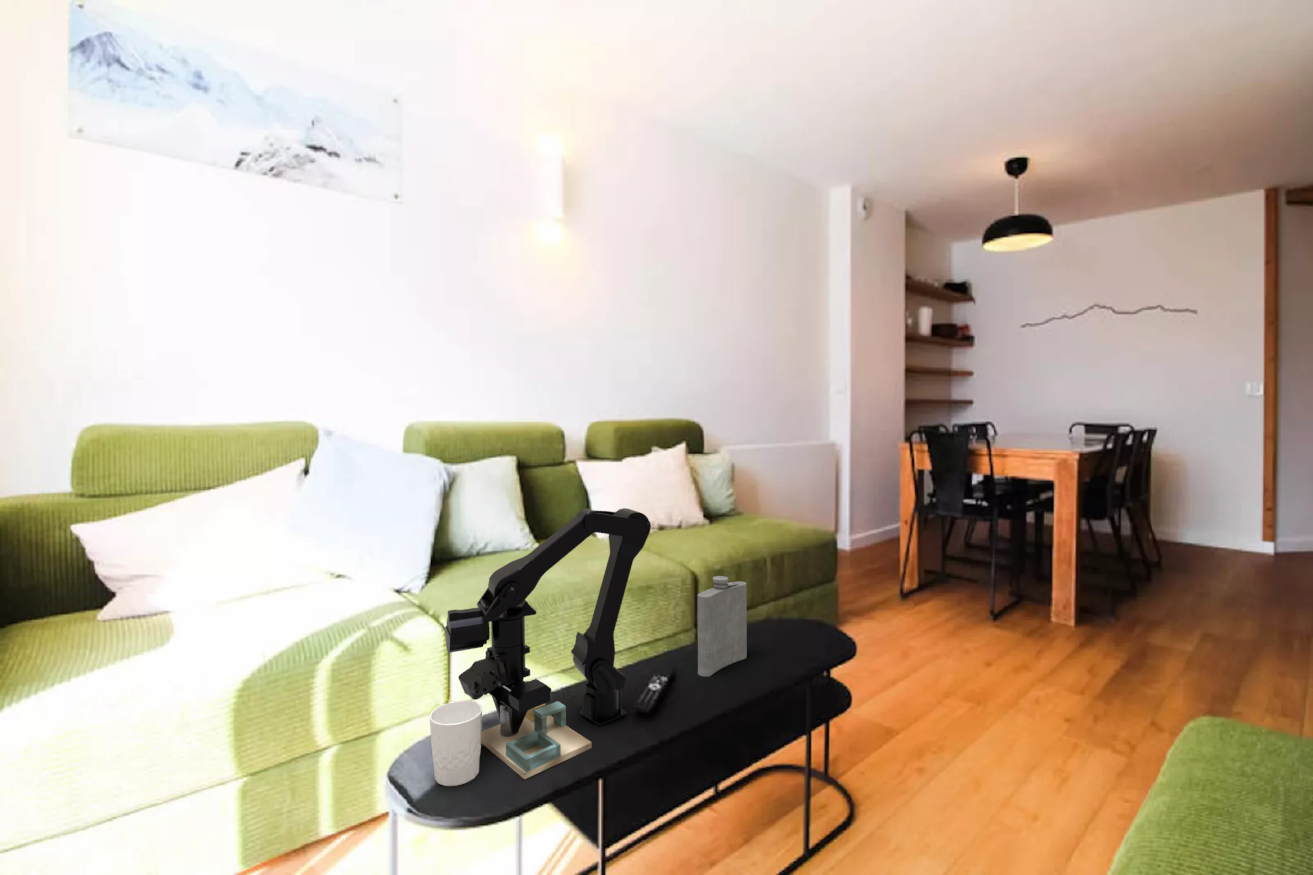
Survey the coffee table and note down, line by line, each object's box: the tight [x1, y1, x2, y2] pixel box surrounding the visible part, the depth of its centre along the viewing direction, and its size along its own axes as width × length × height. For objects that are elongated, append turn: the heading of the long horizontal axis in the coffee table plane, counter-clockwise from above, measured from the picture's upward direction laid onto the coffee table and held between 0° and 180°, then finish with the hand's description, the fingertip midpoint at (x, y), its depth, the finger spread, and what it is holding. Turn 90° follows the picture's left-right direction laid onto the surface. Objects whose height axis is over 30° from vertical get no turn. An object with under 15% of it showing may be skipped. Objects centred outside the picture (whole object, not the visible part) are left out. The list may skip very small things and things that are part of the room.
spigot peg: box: [499, 703, 519, 737], centre depth 106 cm, size 3×3×5 cm
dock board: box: [481, 700, 593, 780], centre depth 104 cm, size 13×16×5 cm
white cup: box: [429, 700, 483, 787], centre depth 95 cm, size 8×8×10 cm
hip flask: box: [697, 575, 748, 678], centre depth 137 cm, size 16×4×20 cm, turn 136°
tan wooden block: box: [525, 703, 547, 722], centre depth 111 cm, size 2×4×3 cm, turn 43°
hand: (509, 729), depth 106 cm, fingers closed on spigot peg, 3 cm apart
